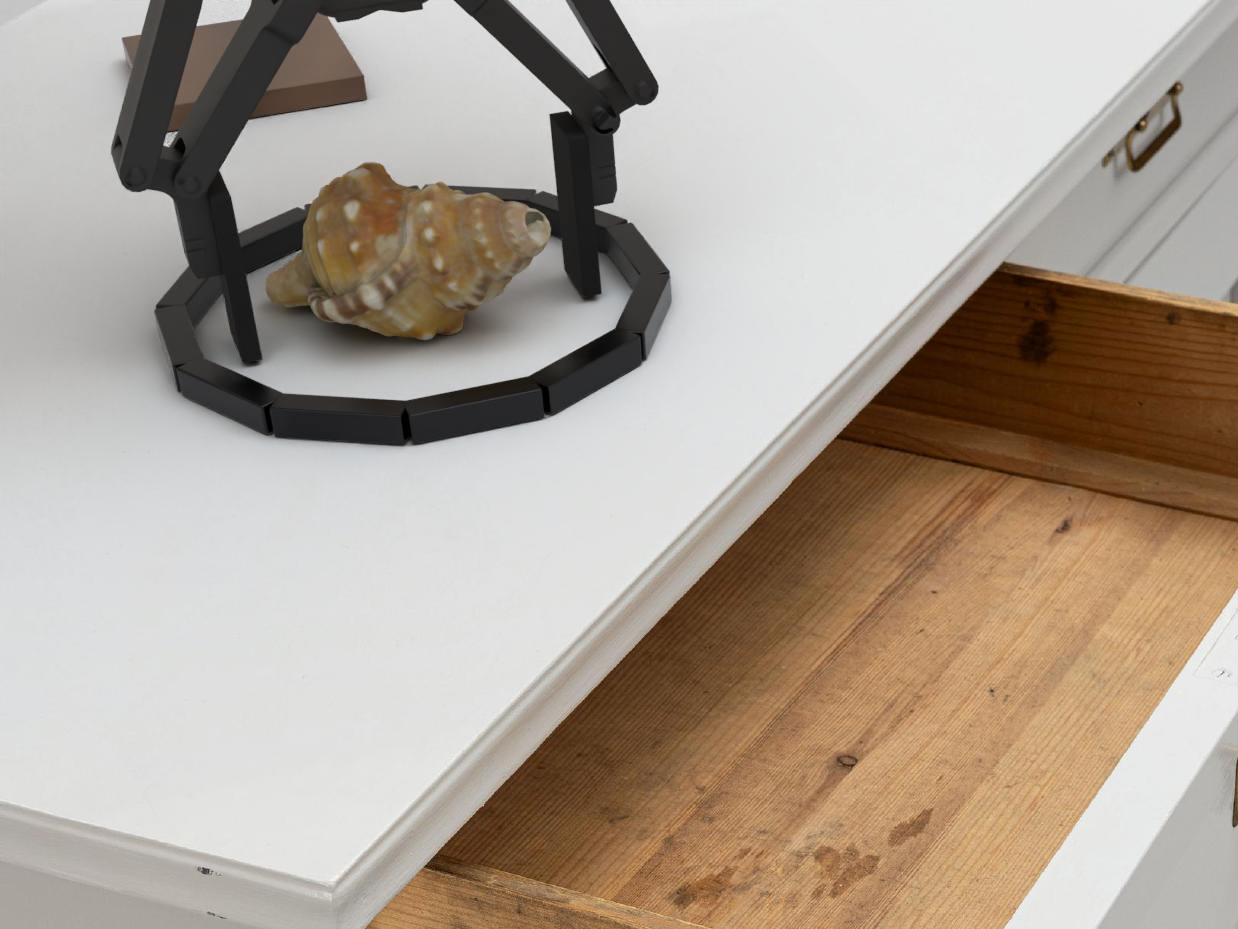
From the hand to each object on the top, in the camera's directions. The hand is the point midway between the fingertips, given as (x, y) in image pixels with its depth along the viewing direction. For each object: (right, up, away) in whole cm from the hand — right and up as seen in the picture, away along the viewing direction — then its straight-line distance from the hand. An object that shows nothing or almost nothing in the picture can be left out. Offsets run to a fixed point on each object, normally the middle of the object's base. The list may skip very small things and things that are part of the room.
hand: (418, 314), depth 86 cm
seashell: (0, 0, 0) cm, 0 cm away
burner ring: (0, 0, 0) cm, 0 cm away
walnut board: (-12, +16, +20) cm, 28 cm away
